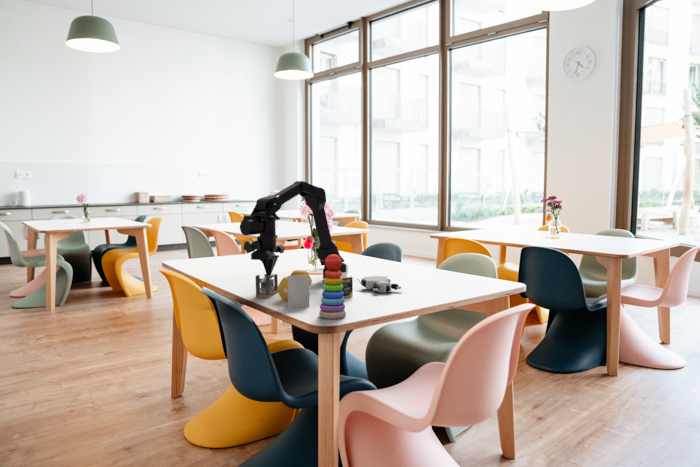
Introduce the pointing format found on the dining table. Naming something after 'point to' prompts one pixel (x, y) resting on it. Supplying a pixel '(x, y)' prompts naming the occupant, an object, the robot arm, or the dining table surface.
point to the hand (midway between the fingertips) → (268, 275)
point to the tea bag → (298, 291)
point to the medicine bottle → (346, 280)
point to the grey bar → (265, 279)
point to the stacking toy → (332, 290)
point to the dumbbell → (283, 284)
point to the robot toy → (378, 284)
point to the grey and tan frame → (266, 287)
